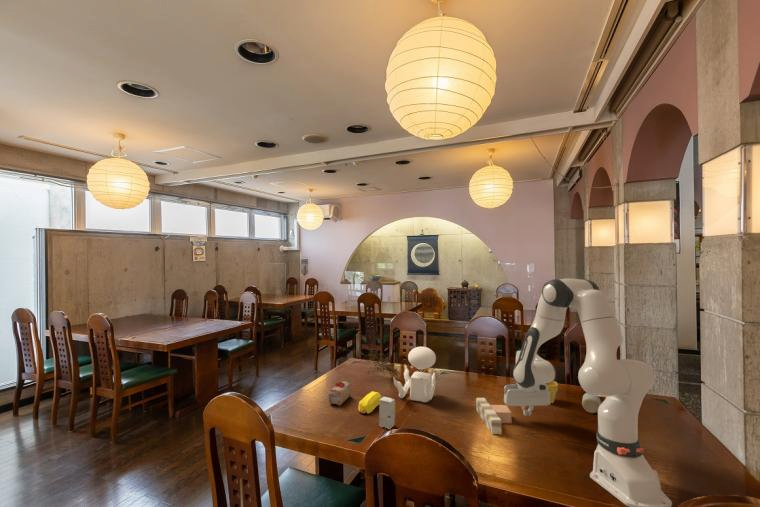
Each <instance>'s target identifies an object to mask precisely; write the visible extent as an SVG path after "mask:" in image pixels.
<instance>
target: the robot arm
mask: <svg viewBox="0 0 760 507" xmlns="http://www.w3.org/2000/svg"><path fill="white" fill-rule="evenodd" d="M568 308H573V309H575V310H576V312H577V313H578V318H579V321H580V324H581V328H582V332H583V336H584V341H585V345H586V353H585V354H586V355H585V358H584V362H583V363H582V365H581V367H579V370H578V373H577V374H578V376H577V378H578V382H579V384H580V387H581V388H582V389H583V391H585V393H588V394H590V395H594V396H598V397H602V398H603V397H604V398H605V399H604V400H603V401H602V402H601V405H600V406H599V408H598V412H597V430H596V442H597V446H596V449H595V450H594V454H593V464H592V466H593V467H592V471H591V472H590V473H589V478H590V479H592V480H593V481H594V482H596V483H597V484H598V485H600V486H601V487H602V489H605V490H606V491H607V492H608V493H610V494H611V495H612V496H614V497H615V498H617V500H619V501H620V502H621V503H623V505H625V506H626V507H672V506H673V502H672V500H671V499H670V498H669V497H668V496H667V495H666V494H665V493H664V491H663V490H662V486H661V482H660V479H659V474H658V471H657V470H656V469H653V468H652V467H651V465H650V463H649V462H648V460H647V459H646V458H645V456H644V455H643V454H644V453H645V451H644V450H645V448H642V445H641V444H642V443H641V441H640V439H639V437H638V436H639V433H638V430H639V429H638V427H639V426H638V425H639V424H638V423H639V422H638V420H639V412H640V409H641V406H642V403H643V400H644V398H645V396H646V394H647V392H649V390H650V389H652V387H653V386H654V384H655V373H654V371H653V370H652V368H651V367H650V366H649V364H647V363H646V362H644V361H642V360H639V359H638V360H637V359H632V358H631V359H630V358H625V359H618V357H617V352H618V348H619V346H621V344H622V343H623V340H624V339H623V335H622V331H621V329H620V326H619V324H618V320H617V317H616V315H615V312H614V310H613V307H612V305H611V303H610V301H609V299H608V298H607V296H606V294H605V293H604V292H603V291H602V290H600V288H599V286H598V285H597V283H596V282H594V281H592V280H590V279H583V278H581V279H580V278H571V277H570V278H560V279H558V278H555V279H550V280H548V281H546V282H545V283H544V284H543V286H542V290H541V294H540V297H539V299H538V302H537V307H536V311H535V316H534V320H533V321H532V324H531V326H530V327H529V328H528V330H527V332H526V333H525V337H524V339H523V343H522V346H521V349H518V350H516V353H515V364H514V366H513V370H512V376H513V379H514V381H515V383H514V384H513V383H512V384H506V385H504V387H503V393H504V394H503V395H504V396H503V402H504V405H507V407H520V408H521V409H522V412H523V413H522V414H523V415H524V416H532V411H533V410H534V407H535V406H536V407H537V406H538V407H539V406H549V405H551V404H550V403H551V400H550V393H549V391H548V386H547V385H546V384H545V383H550V382H552V381H554V380H555V378H556V376H557V375H556V373H557V372H556V369H555V367H554V365H553V363H552V362H550V361H549V360H546V359H544V358H542V357H541V356H540V355H539V354H538V350H539V348H540V347H541V345H543V344H544V343H546V342H547V341H549V340H551V339H553V338H555V337H558V335H560V334H561V332H562V330H563V329H564V326H565V321H566V314H567V309H568ZM526 407H528V409H526Z"/></svg>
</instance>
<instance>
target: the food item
mask: <svg viewBox="0 0 760 507" xmlns="http://www.w3.org/2000/svg"><path fill="white" fill-rule="evenodd" d="M334 383H335V384H334V386H332V387H331V388H330V389H329V391H328V393H327V394H328V398H327V399H328V400H327V401H328V402H329V403H330V404H331V405H332V404H333V405H334V404H336V405H335V406H342V404H344V403H345V402H346V401H347V400H348V399H349V398H350V397H351V384H350V382H348V381H339V382H337V381H335V382H334Z"/></svg>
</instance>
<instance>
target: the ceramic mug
mask: <svg viewBox="0 0 760 507" xmlns="http://www.w3.org/2000/svg"><path fill="white" fill-rule="evenodd" d="M581 400H582V401H581V405H582V408H583V409H584V410H585V411H586V412H587V413H589V414H596V413H598V408H599V406H600V405H601V403H602V401H601V399H600V396H594V395H590V394H588V393H587V392H585V393H584V394H583V395H582V399H581Z"/></svg>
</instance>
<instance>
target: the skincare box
mask: <svg viewBox="0 0 760 507" xmlns="http://www.w3.org/2000/svg"><path fill="white" fill-rule="evenodd" d="M381 397H382V398H381V399H380V400H379V405H378V406H379V407H378V409H379V410H378V412H379V413H378V414H379V415H378V416H379V418H378V424H379V425H378V426H380V428H383V427H385V428H384V429H386V428H387V429H386V430H392V429H393V428H394V427H395V426H394V425H396V424H395V423H396V421H395V419H396V399H394V398H392V397H388V396H381ZM393 426H394V427H393ZM392 427H393V428H392ZM391 428H392V429H391Z"/></svg>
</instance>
